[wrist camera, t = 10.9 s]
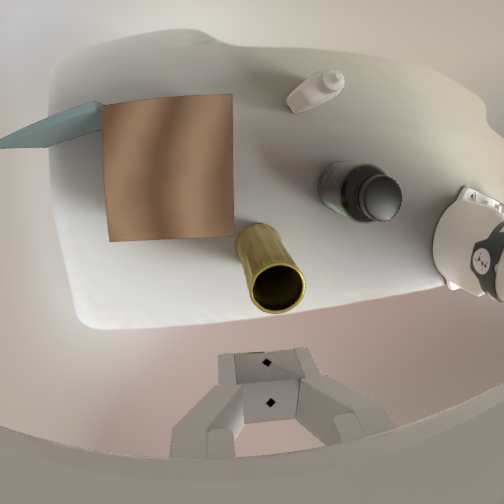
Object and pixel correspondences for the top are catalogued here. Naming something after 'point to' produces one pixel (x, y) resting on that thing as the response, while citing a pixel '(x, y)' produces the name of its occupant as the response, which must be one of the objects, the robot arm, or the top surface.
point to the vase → (269, 270)
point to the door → (57, 128)
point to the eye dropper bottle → (316, 90)
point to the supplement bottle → (360, 192)
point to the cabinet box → (169, 168)
